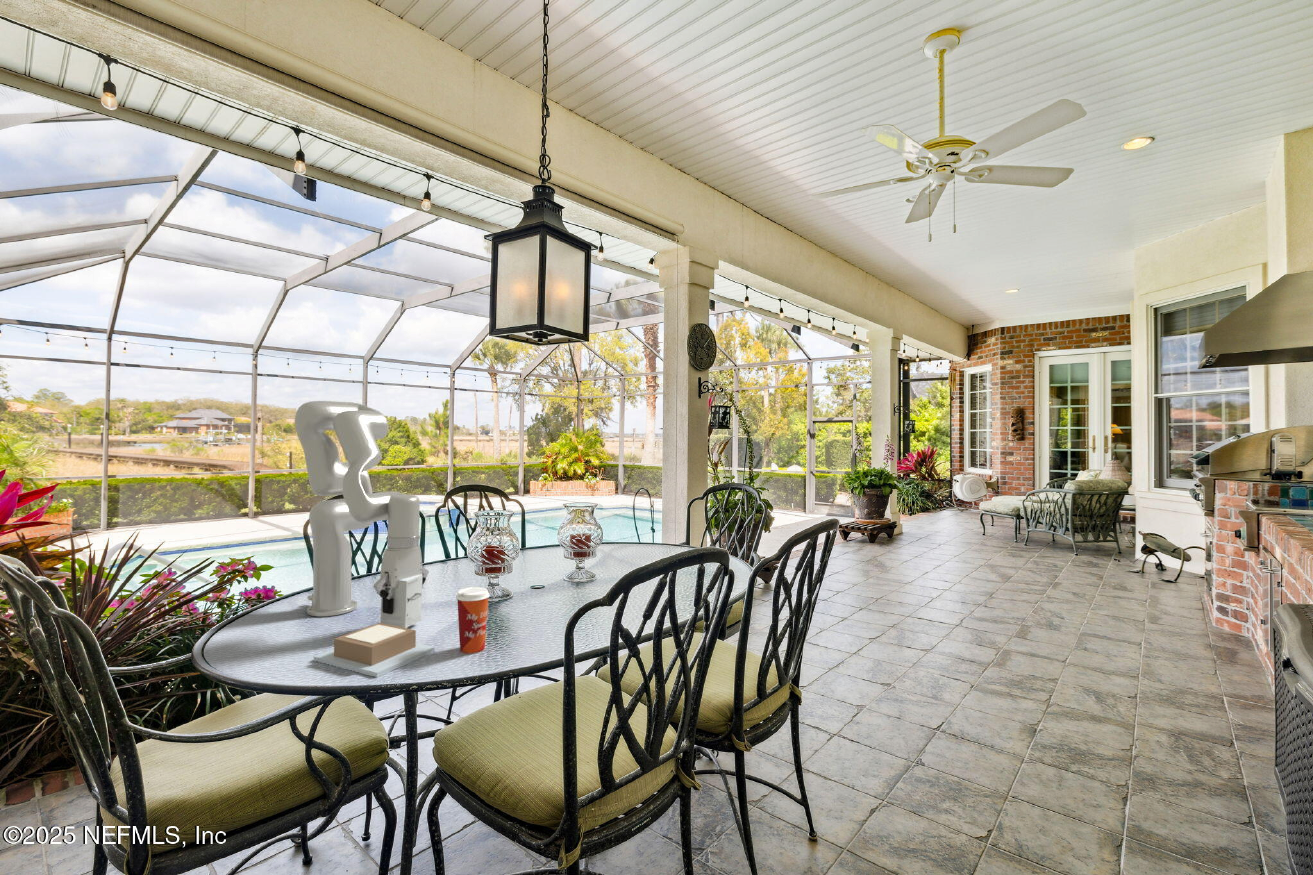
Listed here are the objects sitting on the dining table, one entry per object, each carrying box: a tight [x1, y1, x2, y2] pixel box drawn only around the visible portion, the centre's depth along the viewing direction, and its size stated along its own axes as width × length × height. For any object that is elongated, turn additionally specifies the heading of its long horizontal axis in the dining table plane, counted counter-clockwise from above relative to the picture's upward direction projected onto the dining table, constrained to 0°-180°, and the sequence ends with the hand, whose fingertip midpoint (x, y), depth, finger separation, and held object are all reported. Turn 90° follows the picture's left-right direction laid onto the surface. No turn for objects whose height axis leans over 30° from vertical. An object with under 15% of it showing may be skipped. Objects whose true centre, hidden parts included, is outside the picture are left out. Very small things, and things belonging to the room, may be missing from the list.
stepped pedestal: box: [313, 622, 436, 678], centre depth 133 cm, size 20×16×5 cm
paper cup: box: [455, 586, 490, 655], centre depth 138 cm, size 8×8×14 cm
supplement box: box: [380, 574, 423, 628], centre depth 151 cm, size 7×7×13 cm
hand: (401, 608), depth 151 cm, fingers closed on supplement box, 8 cm apart
